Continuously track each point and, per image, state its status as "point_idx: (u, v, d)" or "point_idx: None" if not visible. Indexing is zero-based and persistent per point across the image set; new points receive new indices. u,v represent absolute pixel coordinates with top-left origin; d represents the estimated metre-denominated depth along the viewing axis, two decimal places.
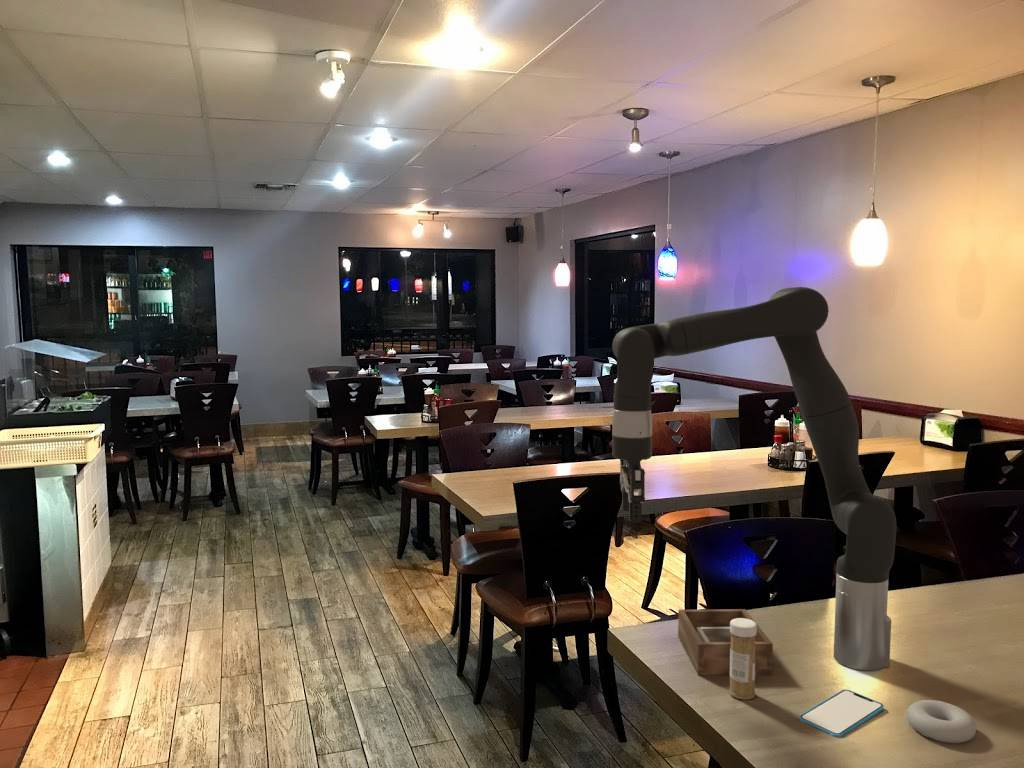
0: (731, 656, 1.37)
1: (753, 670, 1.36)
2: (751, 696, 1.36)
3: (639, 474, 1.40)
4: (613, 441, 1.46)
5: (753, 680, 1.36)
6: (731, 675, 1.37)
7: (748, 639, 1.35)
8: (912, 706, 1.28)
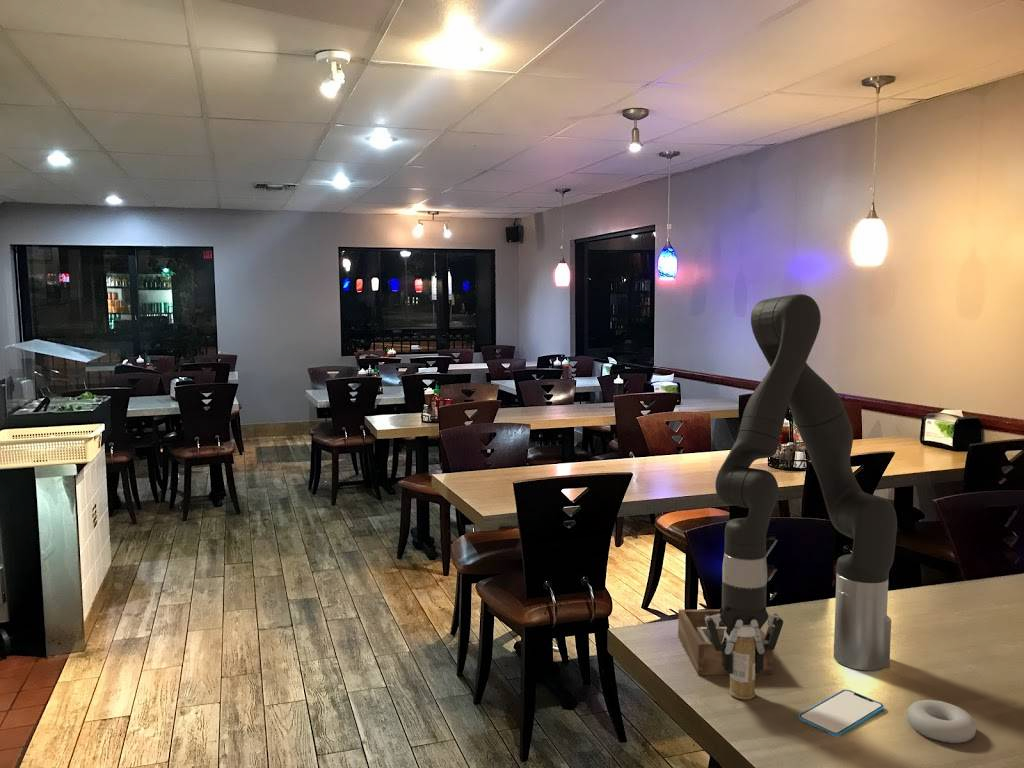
0: None
1: (753, 670, 1.36)
2: (751, 696, 1.36)
3: None
4: (754, 594, 1.32)
5: (753, 680, 1.36)
6: (731, 675, 1.37)
7: (748, 639, 1.35)
8: (912, 706, 1.28)
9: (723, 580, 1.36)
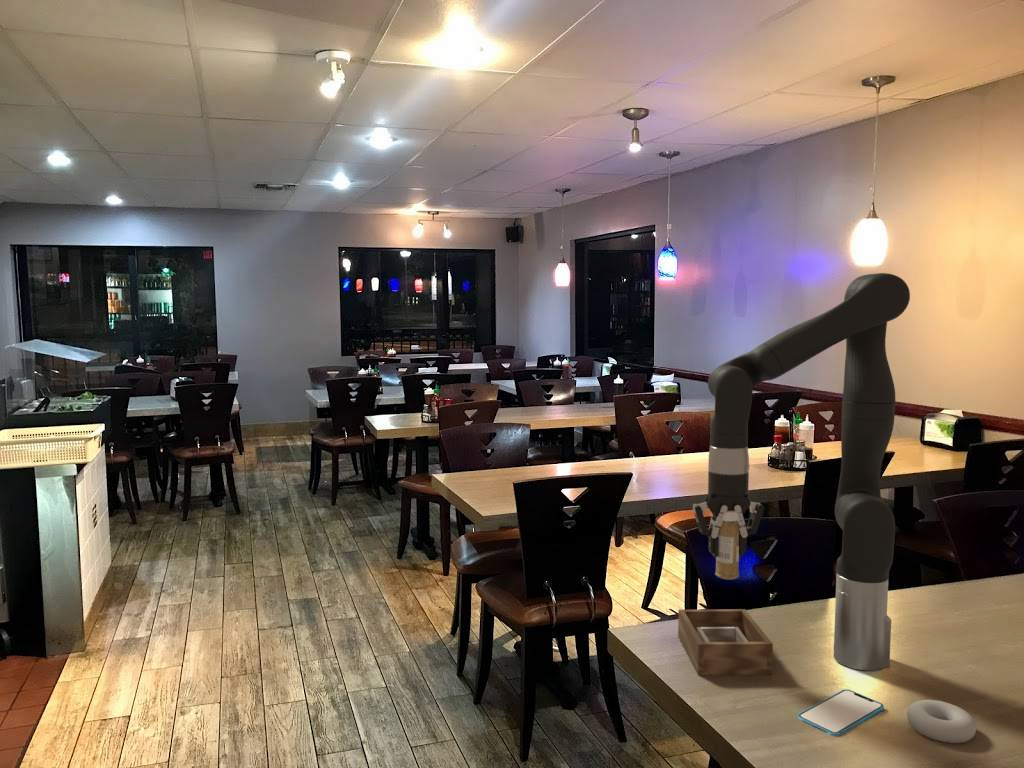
0: None
1: (737, 552, 1.48)
2: (735, 576, 1.49)
3: None
4: (737, 480, 1.45)
5: (737, 562, 1.49)
6: (717, 558, 1.50)
7: (732, 523, 1.47)
8: (912, 706, 1.28)
9: (709, 470, 1.48)
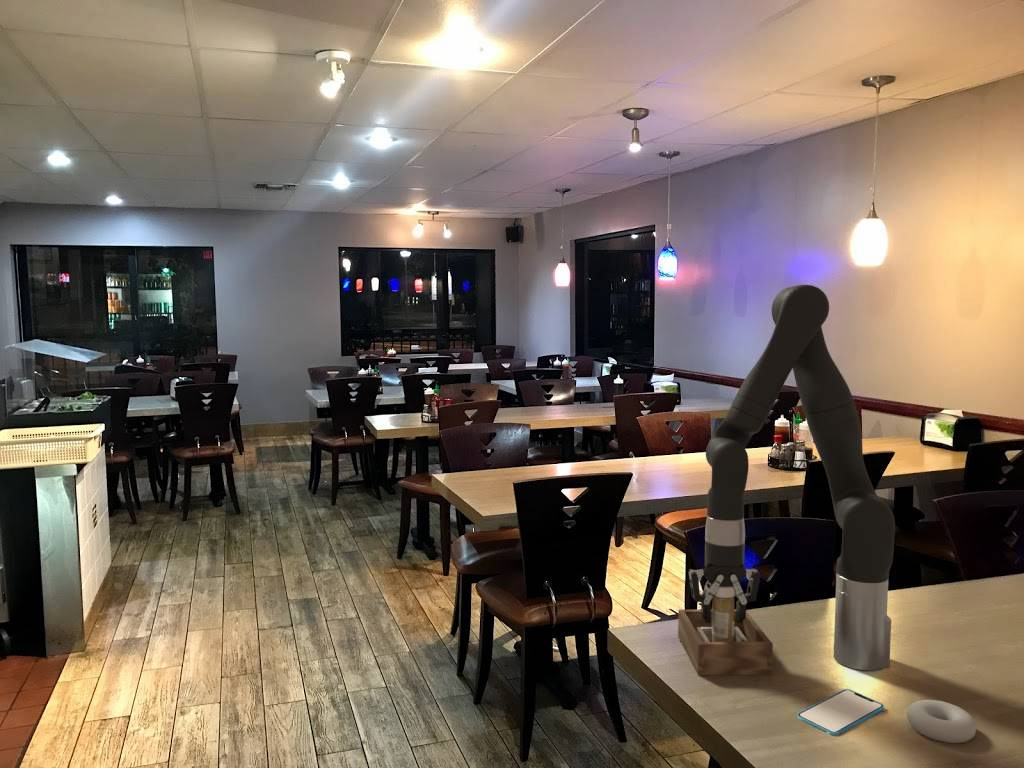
0: (712, 615, 1.53)
1: (732, 627, 1.52)
2: None
3: None
4: (733, 551, 1.48)
5: (732, 636, 1.52)
6: (713, 632, 1.53)
7: (727, 599, 1.51)
8: (912, 706, 1.28)
9: (706, 540, 1.52)
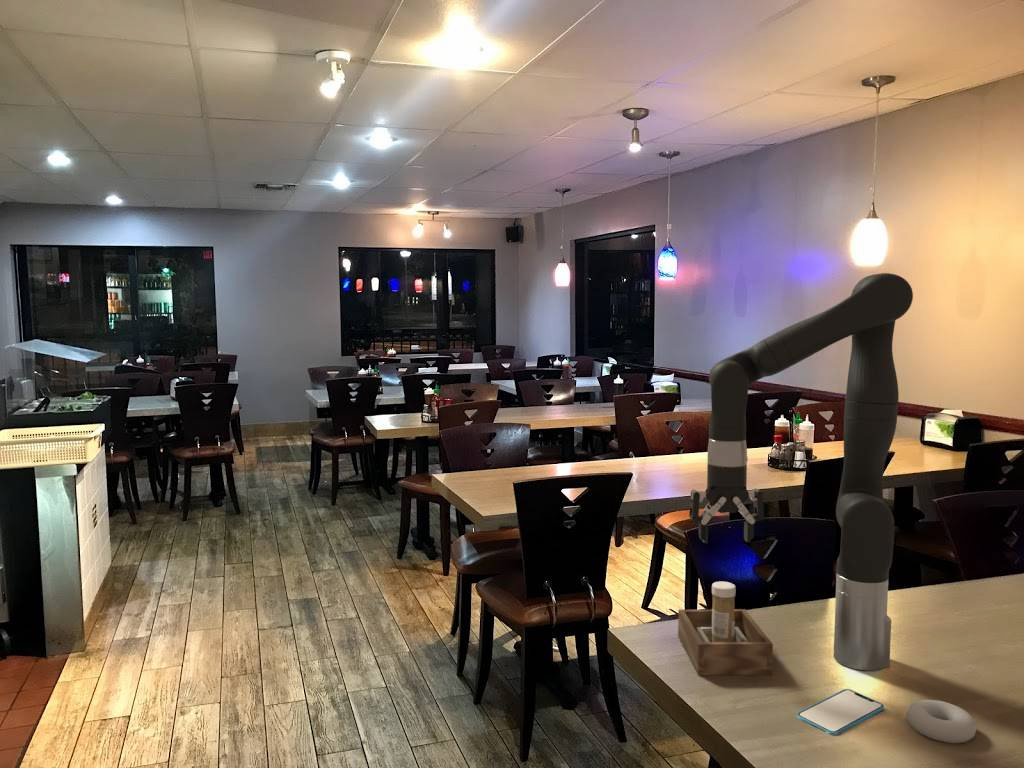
0: (713, 615, 1.53)
1: (732, 627, 1.52)
2: None
3: None
4: (735, 472, 1.49)
5: (732, 636, 1.52)
6: (713, 632, 1.53)
7: (727, 599, 1.51)
8: (912, 706, 1.28)
9: (708, 463, 1.52)
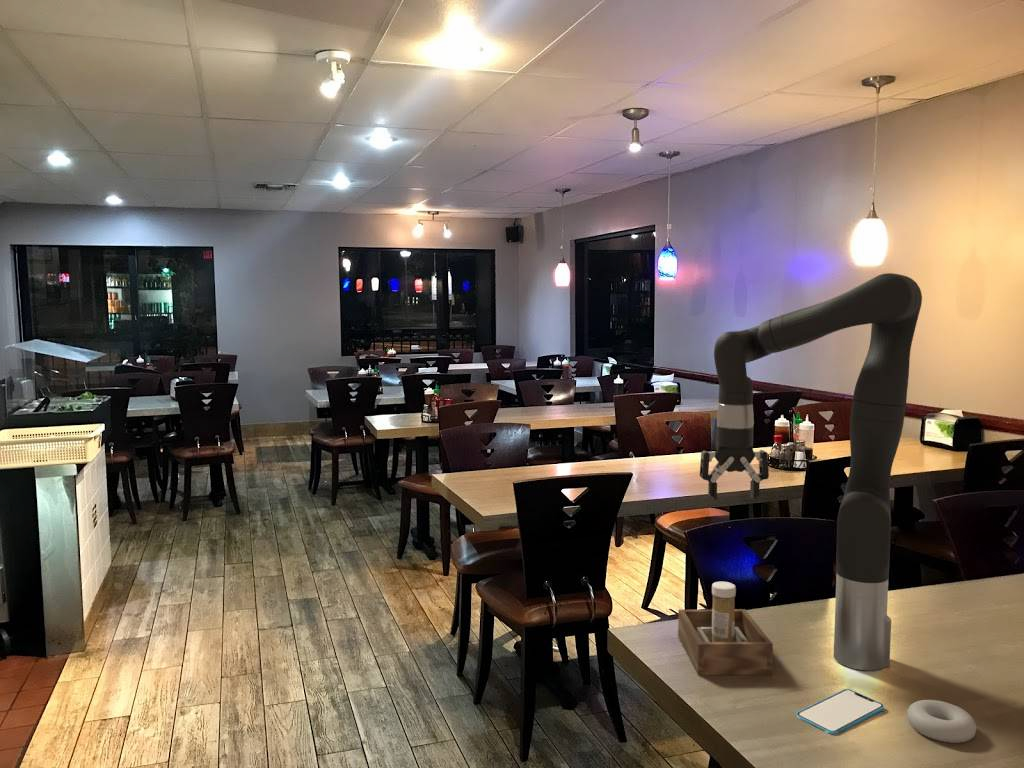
0: (713, 615, 1.53)
1: (732, 627, 1.52)
2: None
3: None
4: (743, 434, 1.61)
5: (732, 636, 1.52)
6: (713, 632, 1.53)
7: (727, 599, 1.51)
8: (912, 706, 1.28)
9: (717, 425, 1.65)
